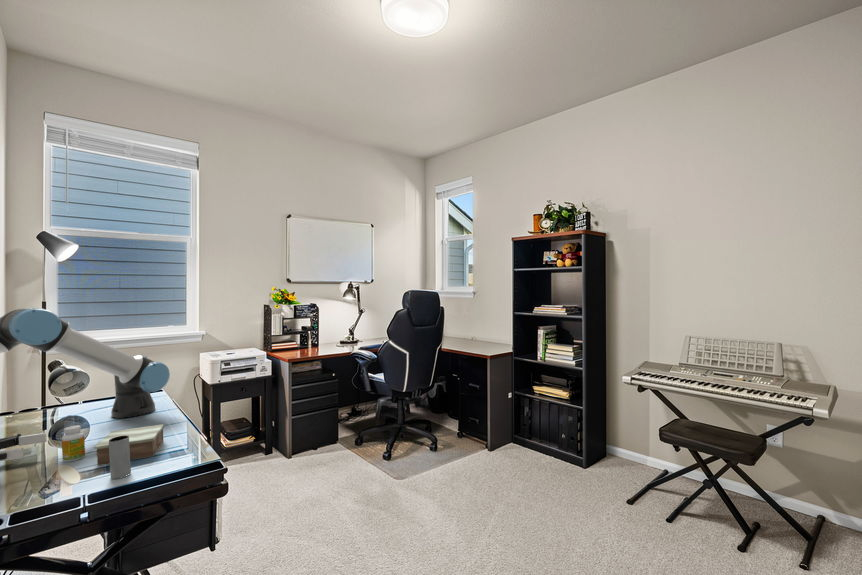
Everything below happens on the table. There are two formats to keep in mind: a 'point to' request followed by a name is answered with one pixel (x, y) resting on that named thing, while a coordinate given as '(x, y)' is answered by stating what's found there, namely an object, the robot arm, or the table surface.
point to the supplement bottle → (73, 444)
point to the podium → (133, 442)
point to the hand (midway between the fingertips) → (35, 444)
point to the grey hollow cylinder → (119, 457)
